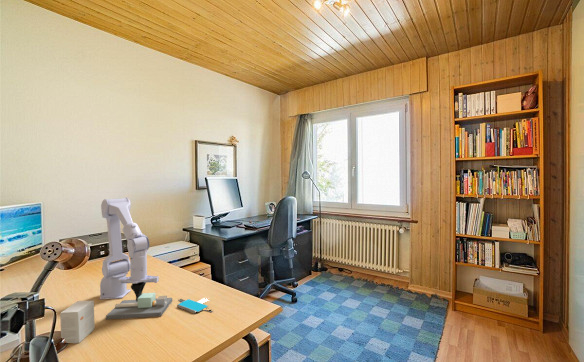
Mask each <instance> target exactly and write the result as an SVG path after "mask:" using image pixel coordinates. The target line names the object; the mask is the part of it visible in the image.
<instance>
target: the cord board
mask: <svg viewBox="0 0 584 362" xmlns="http://www.w3.org/2000/svg"><path fill="white" fill-rule="evenodd" d="M172 302H173V297H167V304H166V305H165V306H164V307H157V305H155V306H152V307H147V308H138V306H137V307H119V308H115V307H114V308H112V309H111V310H110V311H109V312H108V313H107V314H105V320H119V319H120V320H121V319H134V318H136V319H137V318H152V317H153V318H154V317H155V318H156V317H162V316H163V315H164V313H165V312H166V310H167V309H168V308H169V306H170V305H171V304H172ZM123 303H138V302H136V299H127V300H126V299H124V300H122V301H121V302H119V303H118V304H123Z"/></svg>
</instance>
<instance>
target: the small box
mask: <svg viewBox="0 0 584 362" xmlns="http://www.w3.org/2000/svg"><path fill="white" fill-rule="evenodd" d="M59 317H60V318H59V319H60V339H61V338H64V339H65V341H66V342H67V343H73V344H80V343H81V342H82V341H83V340H85V338H87V337H88V335H90V334H91V333H92V332H93V331H94V330H95V328H96V327H95V326H96V324H95V300H77V301H75V302H74V303H72V304H71V305H70V306H69V307H67V308H65V309H64V310H63V311H61V312H60V314H59Z"/></svg>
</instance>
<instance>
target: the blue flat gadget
mask: <svg viewBox="0 0 584 362" xmlns="http://www.w3.org/2000/svg"><path fill="white" fill-rule="evenodd" d="M205 298H206V299H205ZM208 299H209V298H208ZM208 299H207V297H203V298H201V299H200V300H197V301H195V300H192V299H190V298H188V299H186V300H185V299H182V298H180V299H178V301H179V302H180V303H178V304H177V305H176V307H177V308H178V307H179V309H180V310H183V309H184V311H186V312H188V313H191V312H192V314H194V315H195V314H196V312H197V313H198V312H199V313H200V312H204V311H205V312H209V313H212V312H213V311H207V310H204V311H203V309H204V308H208V307H209V305H207V304H206V303H208V302H210V300H208ZM207 301H208V302H207ZM205 302H206V303H205ZM203 303H204V304H203Z"/></svg>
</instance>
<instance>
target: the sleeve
mask: <svg viewBox="0 0 584 362" xmlns="http://www.w3.org/2000/svg"><path fill="white" fill-rule="evenodd" d="M156 299H157V297H156V292H142V295H141V296H140V297H138V308H147V307H152V302H153V301H156Z"/></svg>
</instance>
